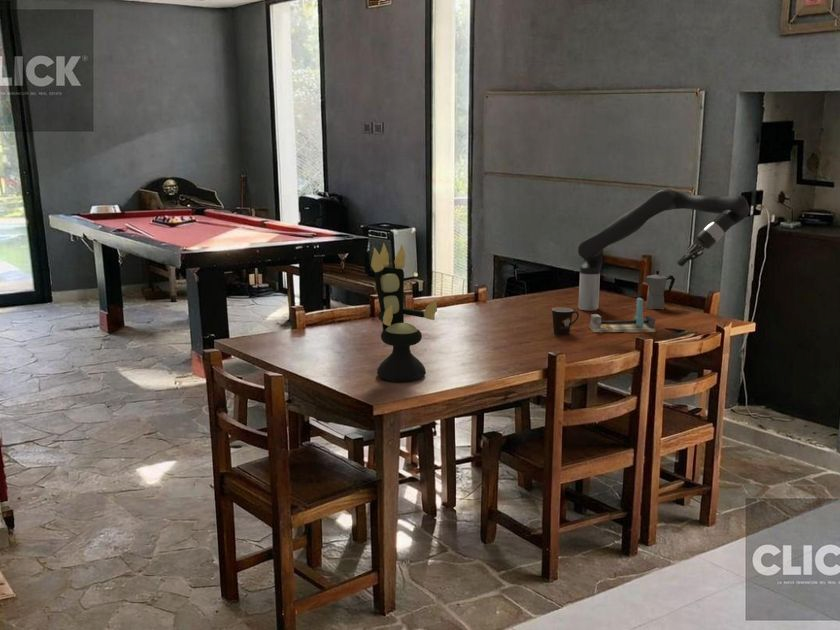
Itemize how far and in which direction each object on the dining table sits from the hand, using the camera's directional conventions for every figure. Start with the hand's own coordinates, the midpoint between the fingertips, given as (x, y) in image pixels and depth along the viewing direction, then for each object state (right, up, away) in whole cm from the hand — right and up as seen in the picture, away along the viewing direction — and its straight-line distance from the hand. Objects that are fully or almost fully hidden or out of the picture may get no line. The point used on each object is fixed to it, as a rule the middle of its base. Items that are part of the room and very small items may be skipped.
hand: (679, 264), depth 353 cm
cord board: (-23, -28, +4) cm, 36 cm away
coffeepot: (+5, -18, +49) cm, 52 cm away
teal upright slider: (-16, -25, +4) cm, 30 cm away
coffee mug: (-48, -29, -1) cm, 56 cm away
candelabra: (-116, -42, -61) cm, 138 cm away
